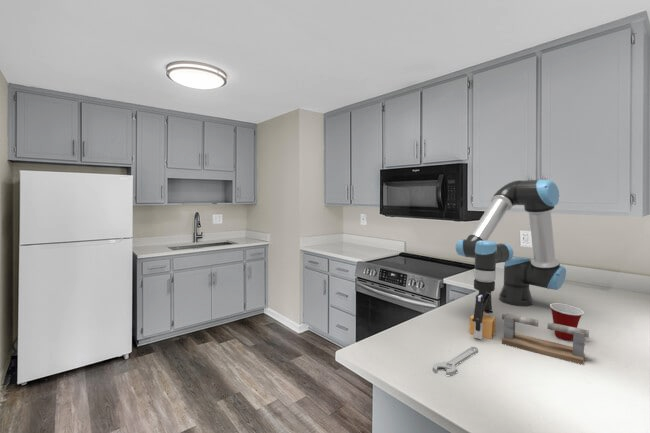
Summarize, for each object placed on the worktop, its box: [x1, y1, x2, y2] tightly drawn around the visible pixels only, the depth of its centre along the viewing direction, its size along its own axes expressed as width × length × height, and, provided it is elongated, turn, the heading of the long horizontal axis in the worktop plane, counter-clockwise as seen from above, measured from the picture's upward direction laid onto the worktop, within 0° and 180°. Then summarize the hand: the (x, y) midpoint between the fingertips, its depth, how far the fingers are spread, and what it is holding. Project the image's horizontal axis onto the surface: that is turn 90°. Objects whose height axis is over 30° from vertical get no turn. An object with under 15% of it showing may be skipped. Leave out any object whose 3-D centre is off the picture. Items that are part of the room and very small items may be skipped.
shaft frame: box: [501, 312, 590, 365], centre depth 119 cm, size 10×26×10 cm, turn 51°
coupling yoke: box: [469, 313, 497, 340], centre depth 132 cm, size 6×8×7 cm
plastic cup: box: [549, 302, 585, 341], centre depth 129 cm, size 11×11×12 cm
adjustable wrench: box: [432, 346, 479, 376], centre depth 109 cm, size 25×6×2 cm, turn 126°
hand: (482, 333), depth 132 cm, fingers open, 12 cm apart
